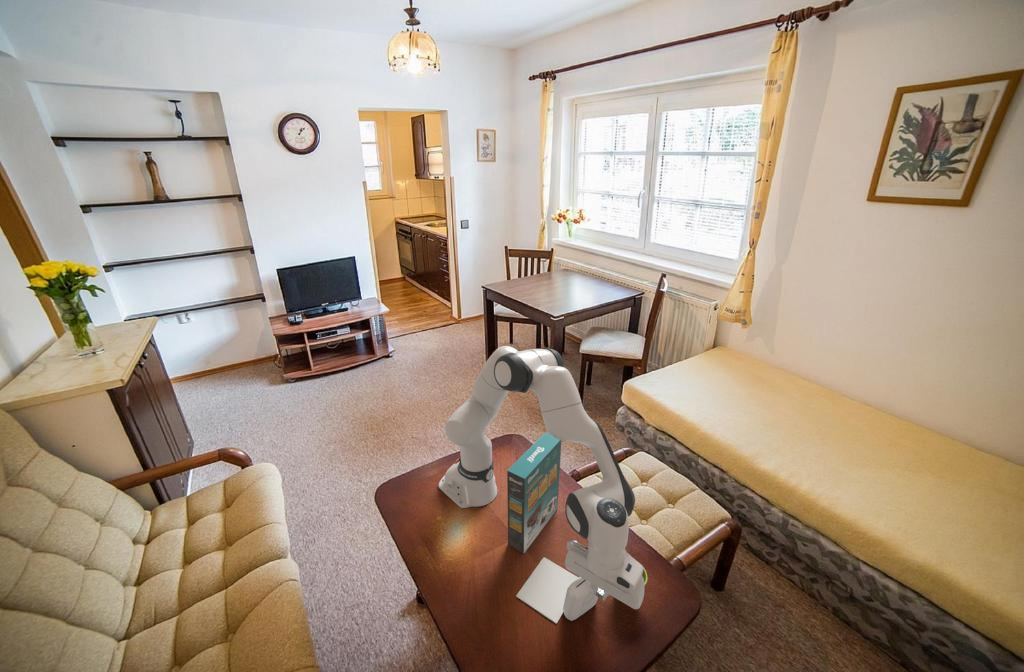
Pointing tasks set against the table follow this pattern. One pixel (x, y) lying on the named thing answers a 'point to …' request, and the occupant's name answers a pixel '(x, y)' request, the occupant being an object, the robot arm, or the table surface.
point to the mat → (547, 589)
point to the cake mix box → (533, 491)
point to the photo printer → (579, 599)
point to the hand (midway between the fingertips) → (600, 595)
